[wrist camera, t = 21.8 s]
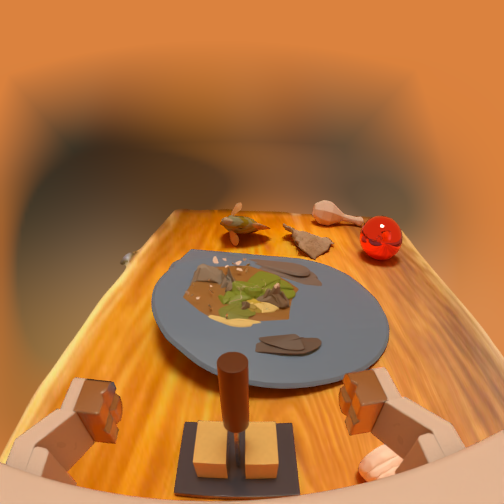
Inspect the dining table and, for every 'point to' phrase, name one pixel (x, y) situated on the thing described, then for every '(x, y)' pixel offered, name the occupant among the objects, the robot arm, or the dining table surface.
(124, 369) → the dining table surface
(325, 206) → the faceted beige polyhedron
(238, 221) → the decorative fish sculpture
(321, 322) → the serving platter
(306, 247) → the coral
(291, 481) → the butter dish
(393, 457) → the peach ridged curved piece
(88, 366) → the dining table surface
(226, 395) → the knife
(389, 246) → the ball
